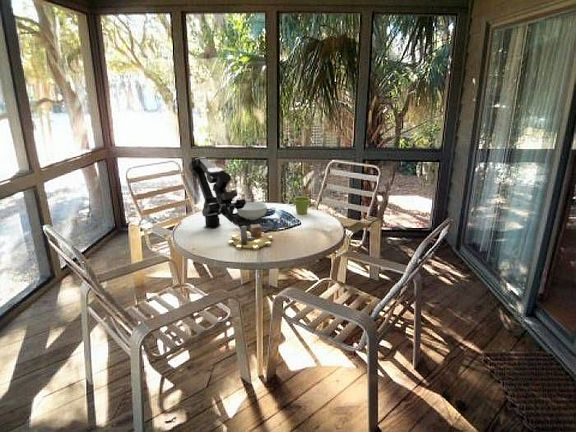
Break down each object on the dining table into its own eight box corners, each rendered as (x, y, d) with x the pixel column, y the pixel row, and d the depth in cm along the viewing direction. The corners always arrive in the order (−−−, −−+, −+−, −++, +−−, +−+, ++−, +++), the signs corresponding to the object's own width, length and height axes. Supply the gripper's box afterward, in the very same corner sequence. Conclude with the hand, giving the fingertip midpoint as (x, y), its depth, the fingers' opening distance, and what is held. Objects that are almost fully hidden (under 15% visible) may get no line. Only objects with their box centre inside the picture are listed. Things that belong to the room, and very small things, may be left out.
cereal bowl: (265, 212, 230) (265, 201, 228) (268, 221, 214) (268, 209, 212) (236, 214, 228) (236, 202, 226) (237, 223, 212) (236, 210, 210)
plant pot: (310, 215, 224) (310, 201, 222) (293, 215, 224) (293, 201, 222) (309, 210, 233) (309, 196, 230) (293, 210, 233) (293, 196, 231)
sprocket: (232, 252, 173) (231, 231, 170) (225, 236, 192) (224, 217, 189) (278, 246, 179) (278, 226, 176) (267, 231, 198) (266, 213, 195)
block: (252, 236, 188) (252, 227, 186) (250, 233, 192) (250, 224, 190) (261, 235, 189) (261, 226, 188) (259, 232, 193) (259, 224, 192)
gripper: (206, 187, 178) (217, 216, 172) (243, 182, 187) (255, 210, 182) (201, 199, 187) (211, 228, 181) (237, 194, 196) (247, 221, 191)
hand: (232, 221), depth 184 cm, fingers closed
